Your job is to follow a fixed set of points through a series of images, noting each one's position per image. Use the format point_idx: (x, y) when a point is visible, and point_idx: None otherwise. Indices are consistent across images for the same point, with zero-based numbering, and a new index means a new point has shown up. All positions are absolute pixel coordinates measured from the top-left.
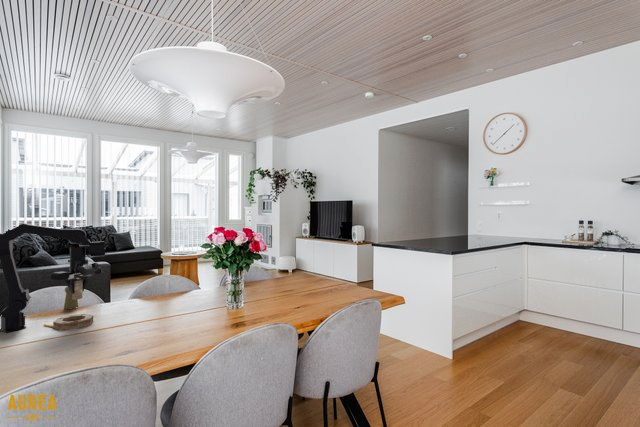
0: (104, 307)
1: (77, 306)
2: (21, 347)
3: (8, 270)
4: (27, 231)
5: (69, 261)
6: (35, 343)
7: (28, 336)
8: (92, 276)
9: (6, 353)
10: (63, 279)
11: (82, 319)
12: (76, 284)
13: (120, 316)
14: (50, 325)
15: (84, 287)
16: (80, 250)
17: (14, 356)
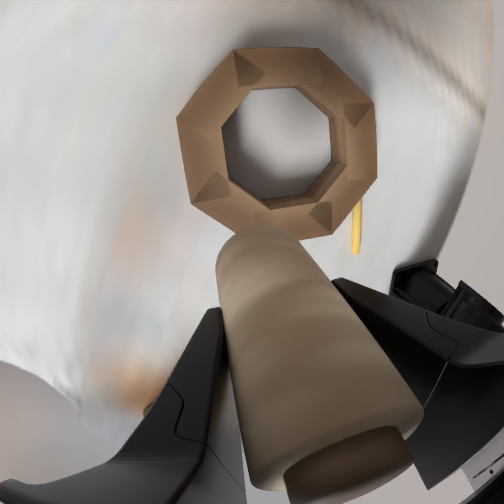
0: (60, 337)
1: (148, 409)
2: (472, 64)
3: None
4: None
5: None
6: (450, 53)
7: (438, 150)
8: (12, 485)
9: (491, 63)
10: None
11: (272, 73)
12: (382, 350)
13: (51, 90)
14: (360, 203)
15: (195, 343)
16: None
17: (484, 26)
